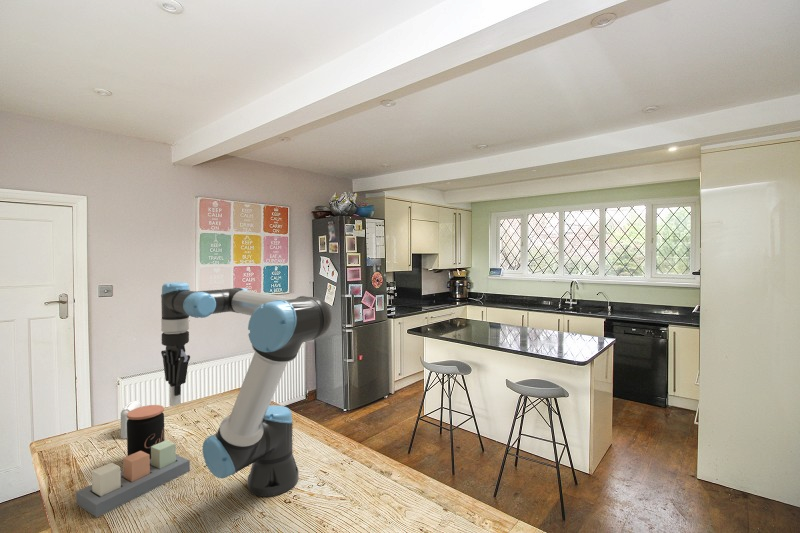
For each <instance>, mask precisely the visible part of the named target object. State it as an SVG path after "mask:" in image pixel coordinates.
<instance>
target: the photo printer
mask: <svg viewBox="0 0 800 533" xmlns="http://www.w3.org/2000/svg"><path fill="white" fill-rule="evenodd" d="M139 407H142V403H141V402H140V401H139V400H132V401H130V402H128V403H127V404H126V405H125V406H124V407H123V408H122V410H121V411H120V437H121V439H122V440H125V439H126V440H127V420H128V418H127V413H128V412H129V411H131V410H133V409H136V408H139Z"/></svg>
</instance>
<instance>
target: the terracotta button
mask: <svg viewBox="0 0 800 533" xmlns="http://www.w3.org/2000/svg"><path fill="white" fill-rule="evenodd" d="M122 464H123V465H122V467H123V469H122V471H123V477H124V478H126V479H128V480H129V481H131V482H133V481H135V480H138V479H140V478H142V477H144V476H146V475H148V474H150V455H149V454H147V453H145V452H143V451H139V452H136V453H134V454H131V455H129V456H124V457H123V458H122Z"/></svg>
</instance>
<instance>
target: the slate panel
mask: <svg viewBox="0 0 800 533" xmlns="http://www.w3.org/2000/svg"><path fill="white" fill-rule="evenodd" d="M190 468H191V465H190V459H187V458H185V457H183V456H181V455H179V454H176V462H174V463H172V464H170V465H168V466H165V467H163V468H161V469H159V468H157V467H155V466H153V465H151V459H150V474H148V475H146V476H144V477H142V478H140V479H138V480H135V481H133V482H131V481H129V480H128V479H126V478H124V477H123V470H122V471H120V473H121V487H120V488H118V489H116V490H114V491H112V492H110V493H107V494H105V495H103V496H101V497H100V496H99V495H97V494H96V493H94V492H92V484H90V485H87V486H86V487H83V488H81V489H79V490H77V491H75V505H77V506H78V507H80V508H82V509H83V510H84V511H86V512H87V511H88V513H89V514H91V516H94V517H95V518H99V517H101V516H103V515H105V514H107V513H109V512H110V511H112V510H114V509H117V508H118V507H121V506H123V505H124V504H126V503H129V502H131V501H132V500H135V499H136V498H138V497H140V496H142V495H145V494H147V493H148V492H151V491H152V490H154V489H156V488H159V487H160V486H162V485H164V484H166V483H169V482H170V481H173V480H174V479H176V478H179V477H181V476H182V475H184V474H186V473H188V472H190V470H191V469H190Z"/></svg>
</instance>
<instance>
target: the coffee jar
mask: <svg viewBox="0 0 800 533" xmlns="http://www.w3.org/2000/svg"><path fill="white" fill-rule="evenodd" d="M164 411H165V406H163V405H161V404H151V405H144V406H141V407H139V408H136V409H133V410H131V411H129V412H128V413H127V418H128V420H127V439H126V444H127V446H126V449H127V452H126V453H127V456H129V455H131V454H134V453H136V452H139V451H143V452H145V453H147V454H149V455H150V459H151V446H153V445H156V444H158V443H161V442H163V441H166V439H165V414H164Z"/></svg>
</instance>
